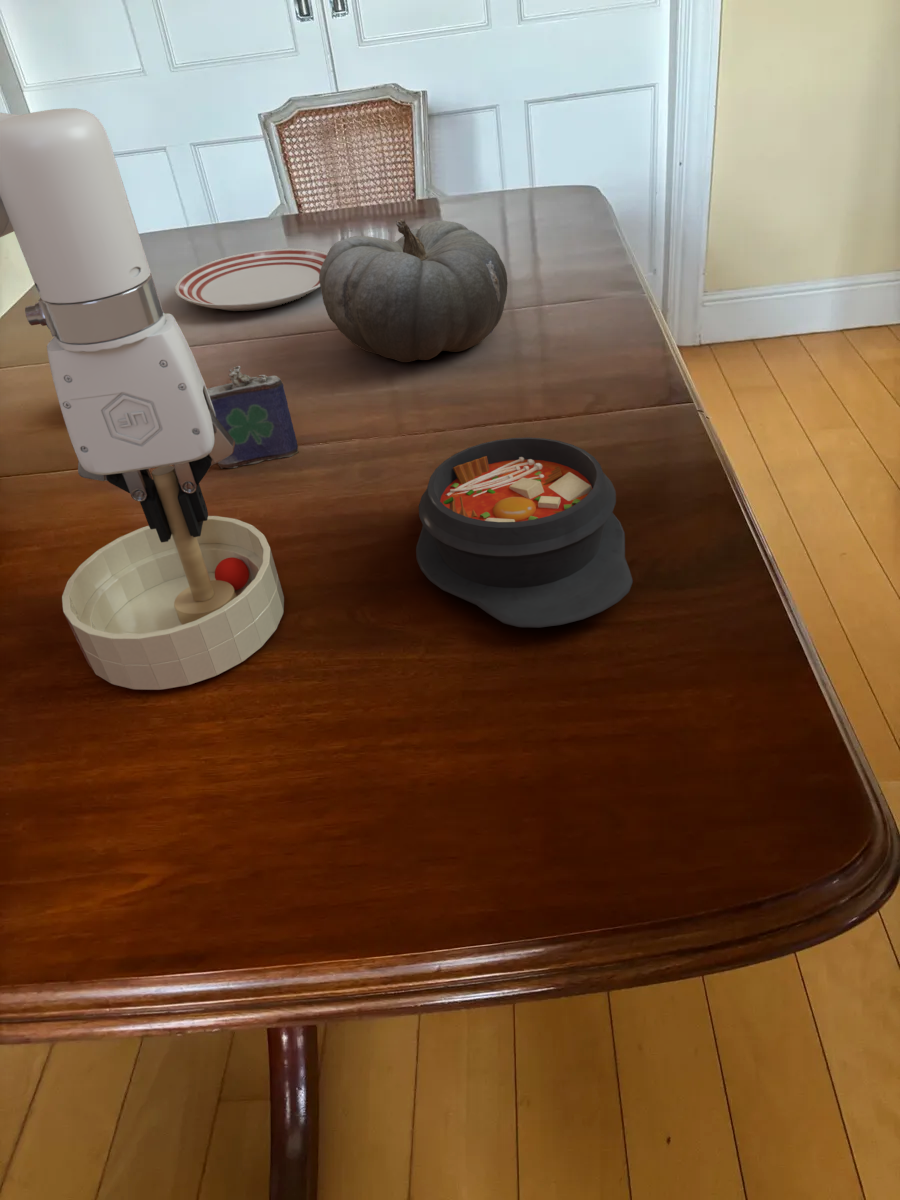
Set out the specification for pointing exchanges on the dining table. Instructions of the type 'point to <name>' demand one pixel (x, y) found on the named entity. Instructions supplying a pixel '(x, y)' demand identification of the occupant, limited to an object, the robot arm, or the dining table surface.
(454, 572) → the casserole
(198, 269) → the dinner plate
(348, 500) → the dining table surface
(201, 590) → the wooden potato masher
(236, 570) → the red ball
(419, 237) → the gourd
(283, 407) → the flask
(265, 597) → the bowl
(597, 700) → the dining table surface
